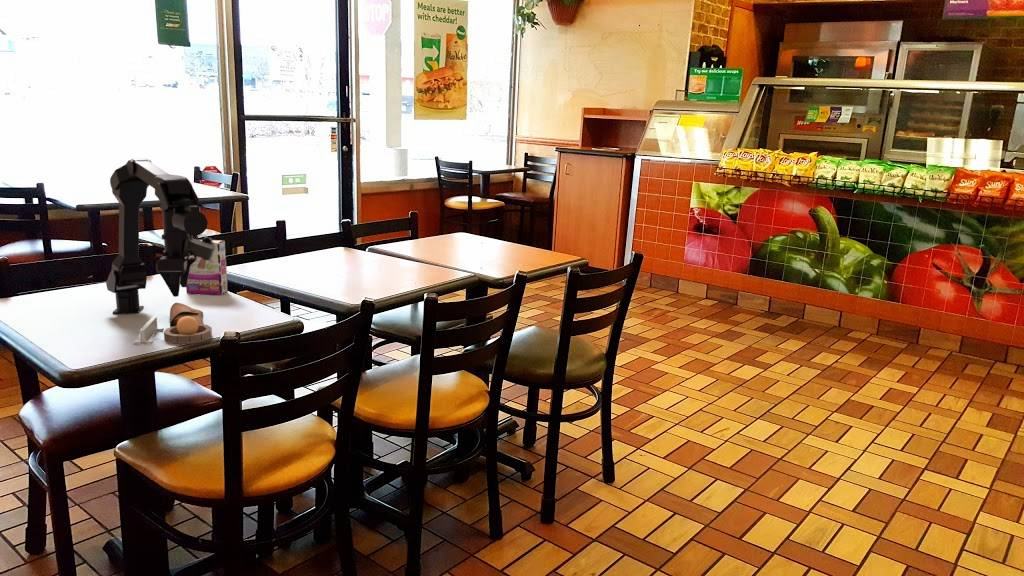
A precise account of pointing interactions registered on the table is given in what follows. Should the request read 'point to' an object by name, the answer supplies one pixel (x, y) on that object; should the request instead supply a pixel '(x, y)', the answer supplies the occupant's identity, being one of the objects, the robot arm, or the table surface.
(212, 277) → the candy bar box
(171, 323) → the sunglasses case
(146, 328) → the divider
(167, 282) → the robot arm
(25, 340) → the table surface
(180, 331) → the ball
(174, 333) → the saucer
